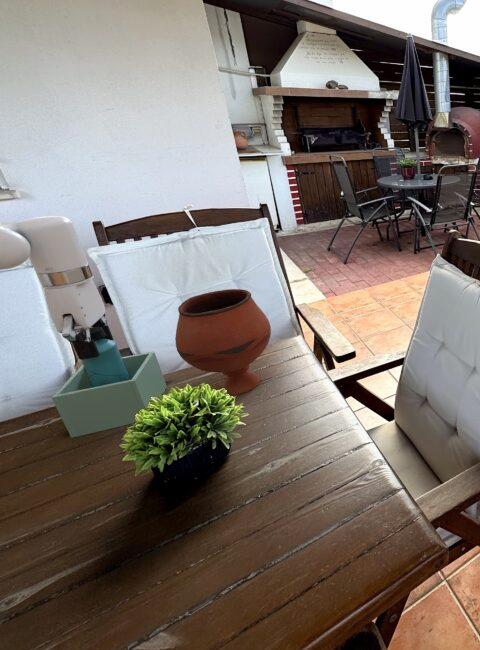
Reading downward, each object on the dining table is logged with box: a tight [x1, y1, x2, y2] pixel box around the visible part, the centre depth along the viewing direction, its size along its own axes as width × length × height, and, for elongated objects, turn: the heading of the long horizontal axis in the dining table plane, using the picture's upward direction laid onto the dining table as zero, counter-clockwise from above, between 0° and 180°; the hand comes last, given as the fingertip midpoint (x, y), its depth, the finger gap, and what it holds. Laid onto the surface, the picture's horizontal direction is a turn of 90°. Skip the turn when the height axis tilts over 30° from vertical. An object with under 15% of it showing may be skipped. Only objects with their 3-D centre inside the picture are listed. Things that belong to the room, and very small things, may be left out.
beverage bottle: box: [77, 327, 131, 387], centre depth 92 cm, size 6×7×20 cm
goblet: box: [174, 288, 272, 396], centre depth 100 cm, size 19×19×25 cm
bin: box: [51, 351, 168, 439], centre depth 94 cm, size 14×14×11 cm
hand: (97, 349), depth 90 cm, fingers closed on beverage bottle, 6 cm apart
